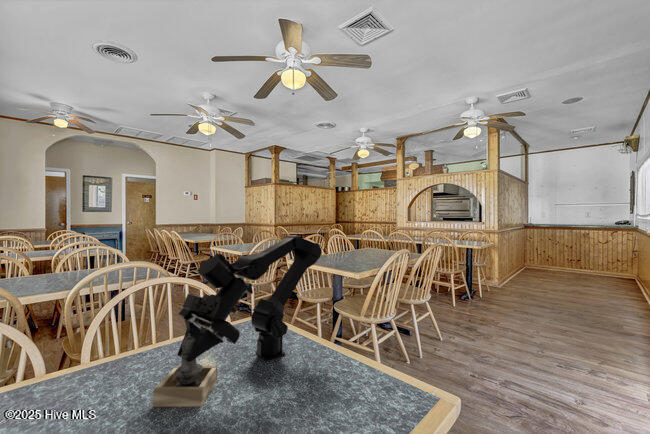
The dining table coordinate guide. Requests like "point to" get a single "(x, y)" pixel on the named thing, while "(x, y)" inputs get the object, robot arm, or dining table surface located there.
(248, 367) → the dining table surface
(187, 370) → the dark grey chess piece
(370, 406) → the dining table surface
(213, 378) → the wooden tray
